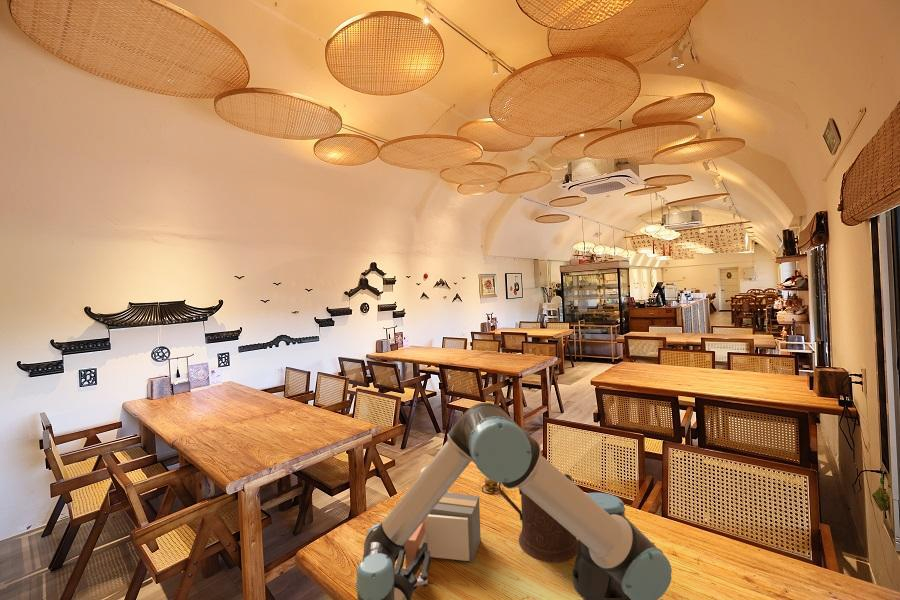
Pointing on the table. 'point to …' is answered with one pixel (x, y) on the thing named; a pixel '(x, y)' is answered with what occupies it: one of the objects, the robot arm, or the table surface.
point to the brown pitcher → (543, 532)
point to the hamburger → (490, 484)
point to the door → (441, 538)
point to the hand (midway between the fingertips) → (419, 537)
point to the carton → (462, 515)
